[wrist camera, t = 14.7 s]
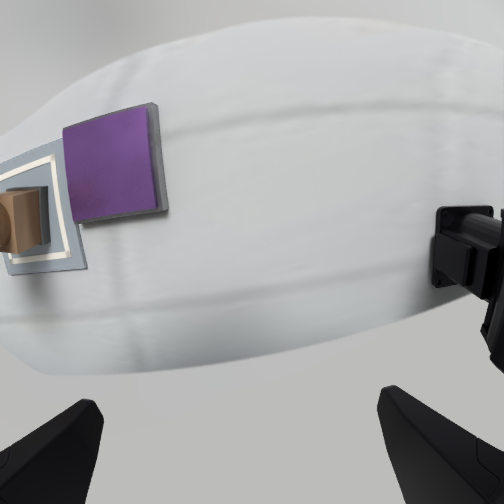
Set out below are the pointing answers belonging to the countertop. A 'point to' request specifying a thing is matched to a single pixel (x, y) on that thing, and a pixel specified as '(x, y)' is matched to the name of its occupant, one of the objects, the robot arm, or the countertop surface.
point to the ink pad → (115, 165)
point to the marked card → (60, 216)
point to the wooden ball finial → (24, 218)
